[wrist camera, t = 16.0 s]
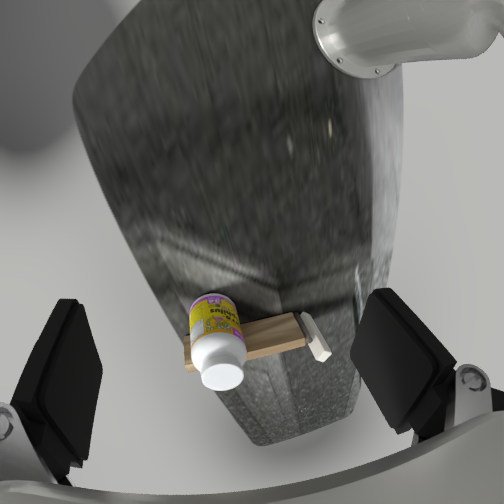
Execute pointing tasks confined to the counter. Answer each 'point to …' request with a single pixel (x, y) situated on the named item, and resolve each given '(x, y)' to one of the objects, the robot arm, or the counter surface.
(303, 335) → the wooden plank
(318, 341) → the gate post
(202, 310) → the supplement bottle
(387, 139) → the counter surface
